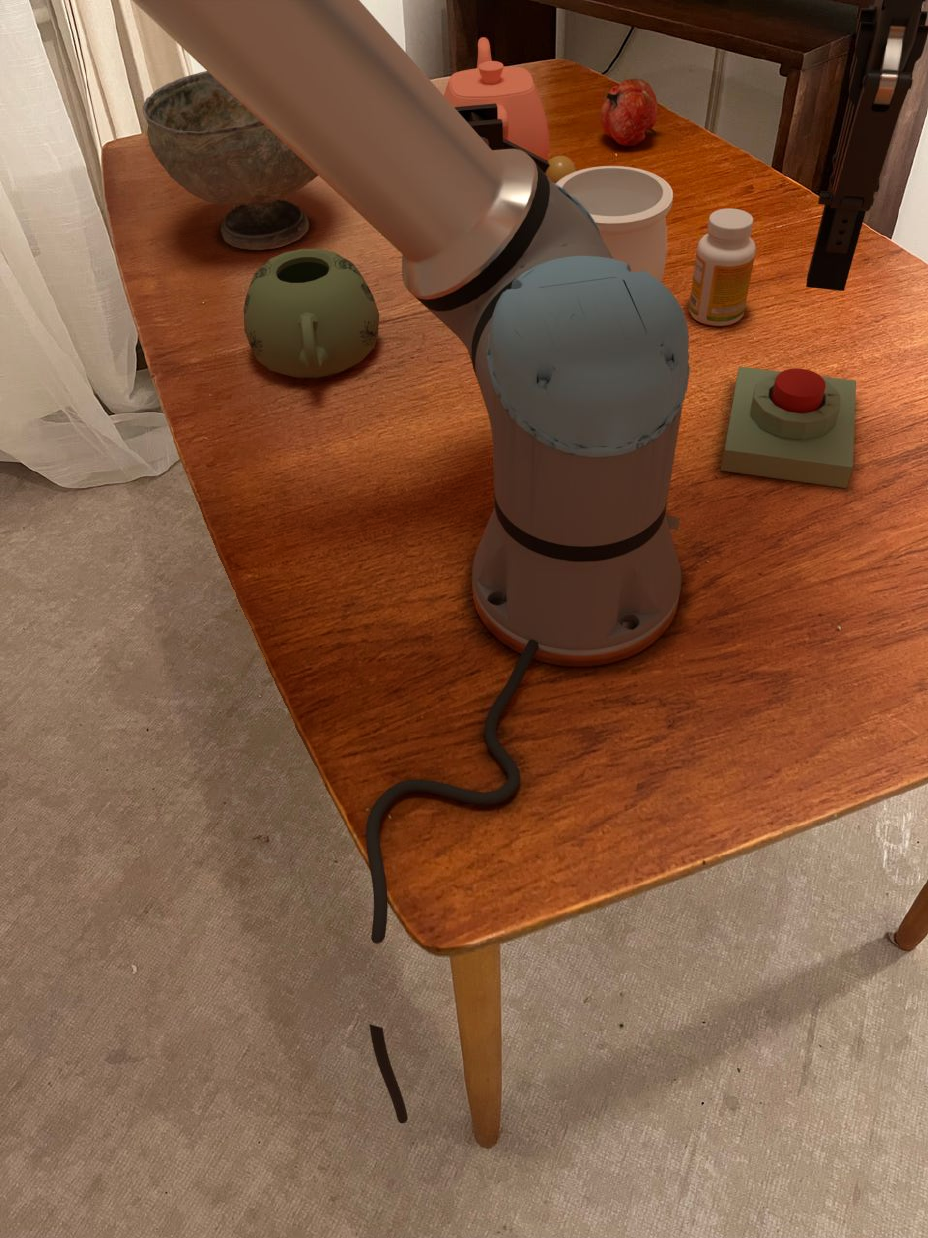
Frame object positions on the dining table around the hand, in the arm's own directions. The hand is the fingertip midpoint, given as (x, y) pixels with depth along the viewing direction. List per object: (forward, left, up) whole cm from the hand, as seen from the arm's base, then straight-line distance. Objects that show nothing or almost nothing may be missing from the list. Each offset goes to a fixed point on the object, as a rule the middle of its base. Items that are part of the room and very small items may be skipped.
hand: (825, 283), depth 73 cm
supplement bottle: (+18, +8, -14) cm, 25 cm away
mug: (+3, +44, -14) cm, 47 cm away
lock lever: (+31, +32, -7) cm, 45 cm away
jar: (+10, +18, -14) cm, 25 cm away
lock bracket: (+29, +35, -14) cm, 48 cm away
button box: (0, 0, -14) cm, 14 cm away
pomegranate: (+56, +23, -14) cm, 62 cm away
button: (0, 0, -11) cm, 11 cm away
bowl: (+26, +60, -14) cm, 67 cm away
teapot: (+45, +38, -14) cm, 61 cm away
